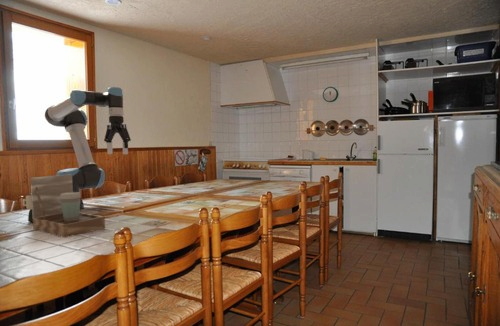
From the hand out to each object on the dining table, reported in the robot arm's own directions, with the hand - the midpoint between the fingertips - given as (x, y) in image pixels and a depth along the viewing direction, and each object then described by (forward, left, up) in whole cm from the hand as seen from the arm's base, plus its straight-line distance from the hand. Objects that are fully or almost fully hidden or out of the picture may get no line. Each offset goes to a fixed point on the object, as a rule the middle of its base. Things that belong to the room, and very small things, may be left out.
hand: (117, 154), depth 188 cm
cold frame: (+15, -37, -32) cm, 51 cm away
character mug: (-13, -38, -32) cm, 51 cm away
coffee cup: (+17, -37, -28) cm, 49 cm away
